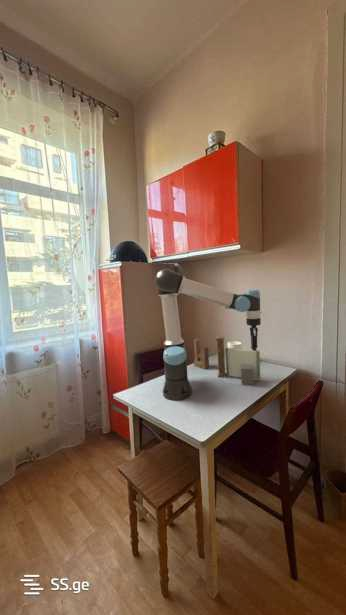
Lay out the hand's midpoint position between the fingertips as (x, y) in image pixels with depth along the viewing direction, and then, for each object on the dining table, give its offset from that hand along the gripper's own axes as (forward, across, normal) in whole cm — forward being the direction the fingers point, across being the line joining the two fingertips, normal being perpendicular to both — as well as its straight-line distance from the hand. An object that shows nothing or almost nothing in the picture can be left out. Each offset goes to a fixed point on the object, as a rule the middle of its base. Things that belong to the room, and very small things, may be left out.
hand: (254, 358), depth 141 cm
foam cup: (+12, +29, +10) cm, 33 cm away
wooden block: (+12, +17, +32) cm, 39 cm away
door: (+11, -1, +7) cm, 13 cm away
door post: (+12, +2, +18) cm, 22 cm away
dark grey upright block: (+11, -7, +5) cm, 14 cm away
